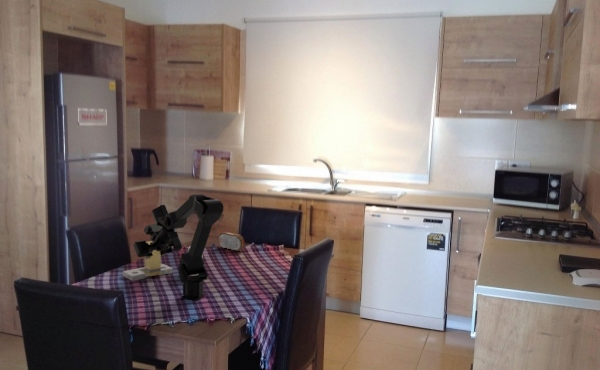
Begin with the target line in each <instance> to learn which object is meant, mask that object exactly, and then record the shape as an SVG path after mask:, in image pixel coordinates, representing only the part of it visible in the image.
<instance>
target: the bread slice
mask: <svg viewBox="0 0 600 370" xmlns="http://www.w3.org/2000/svg"><path fill="white" fill-rule="evenodd" d="M218 244H219V246H220V247H221V248H222V249H224V248H227V249H226V250H228V249H231V250H230V251H233V250H235V251H234V252H239V251H242V250H244V248H245V244H246V242H245V238H244V237H243V236H242V235H241V234H239V233H237V232H236V233H234V232H230V231H224V232H221V233H220V234H219V235H218Z"/></svg>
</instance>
